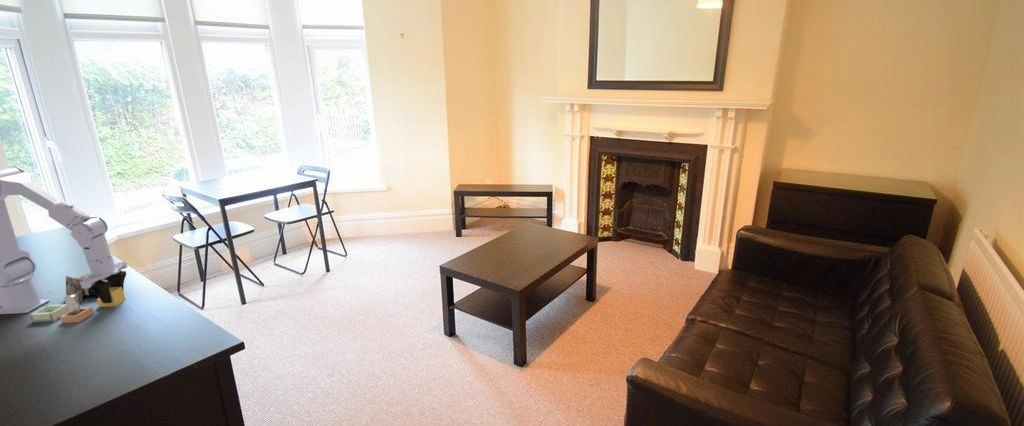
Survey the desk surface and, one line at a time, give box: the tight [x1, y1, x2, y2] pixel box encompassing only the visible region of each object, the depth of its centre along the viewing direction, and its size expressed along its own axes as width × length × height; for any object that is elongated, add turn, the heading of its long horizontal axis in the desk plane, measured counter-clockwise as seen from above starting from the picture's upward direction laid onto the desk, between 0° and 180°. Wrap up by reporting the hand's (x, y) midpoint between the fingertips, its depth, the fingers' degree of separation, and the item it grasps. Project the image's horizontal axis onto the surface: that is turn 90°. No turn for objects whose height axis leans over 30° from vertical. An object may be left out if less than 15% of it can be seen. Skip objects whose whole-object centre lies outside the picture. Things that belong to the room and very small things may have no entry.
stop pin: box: [63, 294, 82, 315], centre depth 136 cm, size 3×3×7 cm
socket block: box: [59, 306, 95, 324], centre depth 137 cm, size 5×5×2 cm
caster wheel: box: [65, 273, 111, 301], centre depth 152 cm, size 7×11×10 cm
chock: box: [96, 287, 127, 308], centre depth 144 cm, size 5×4×4 cm
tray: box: [29, 303, 69, 323], centre depth 138 cm, size 6×5×2 cm
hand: (113, 298), depth 144 cm, fingers closed on chock, 4 cm apart
